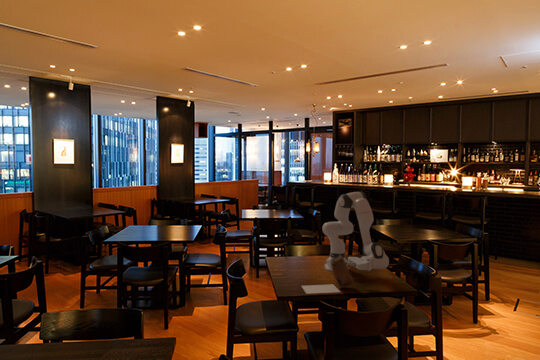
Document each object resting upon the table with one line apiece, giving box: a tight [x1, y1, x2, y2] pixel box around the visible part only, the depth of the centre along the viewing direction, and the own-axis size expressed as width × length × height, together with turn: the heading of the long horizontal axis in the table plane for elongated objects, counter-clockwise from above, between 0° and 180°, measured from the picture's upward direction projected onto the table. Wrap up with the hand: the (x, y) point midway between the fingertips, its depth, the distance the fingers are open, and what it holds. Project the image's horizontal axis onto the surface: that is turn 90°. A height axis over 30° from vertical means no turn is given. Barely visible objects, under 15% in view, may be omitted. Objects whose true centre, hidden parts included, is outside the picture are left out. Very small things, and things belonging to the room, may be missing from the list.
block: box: [331, 256, 354, 289], centre depth 236 cm, size 11×8×20 cm
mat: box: [301, 283, 341, 295], centre depth 234 cm, size 15×23×1 cm, turn 98°
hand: (346, 263), depth 236 cm, fingers closed
